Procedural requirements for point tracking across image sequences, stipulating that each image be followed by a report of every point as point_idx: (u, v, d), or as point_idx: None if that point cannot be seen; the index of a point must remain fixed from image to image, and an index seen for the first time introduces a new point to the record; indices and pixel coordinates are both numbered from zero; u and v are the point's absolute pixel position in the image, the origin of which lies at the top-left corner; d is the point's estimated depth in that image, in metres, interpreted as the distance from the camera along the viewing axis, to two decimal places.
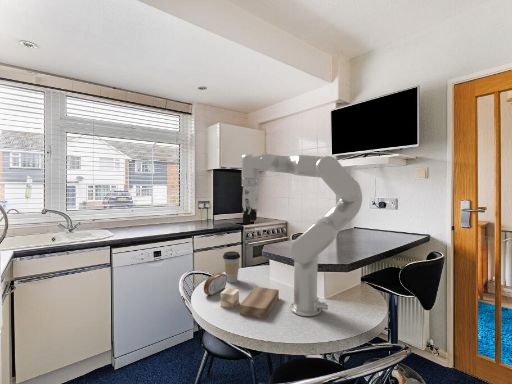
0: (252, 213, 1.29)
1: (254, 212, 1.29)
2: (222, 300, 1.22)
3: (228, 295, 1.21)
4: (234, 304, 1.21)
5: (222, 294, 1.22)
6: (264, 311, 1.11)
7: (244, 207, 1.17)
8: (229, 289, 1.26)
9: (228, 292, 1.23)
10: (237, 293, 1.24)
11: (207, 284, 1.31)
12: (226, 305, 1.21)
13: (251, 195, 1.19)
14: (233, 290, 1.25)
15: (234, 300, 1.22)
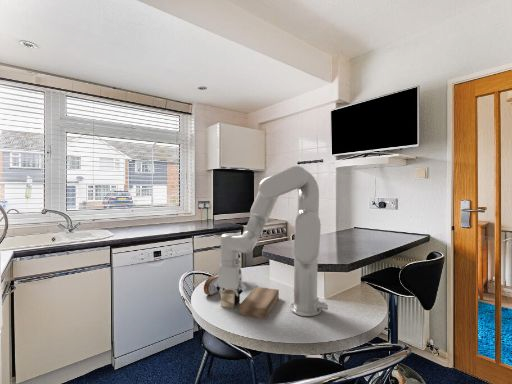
0: None
1: None
2: (222, 299, 1.22)
3: (228, 295, 1.21)
4: (234, 304, 1.21)
5: (222, 294, 1.22)
6: (264, 311, 1.11)
7: (244, 289, 1.22)
8: (229, 289, 1.26)
9: (228, 292, 1.23)
10: None
11: (207, 284, 1.31)
12: (226, 305, 1.21)
13: (241, 273, 1.24)
14: (233, 290, 1.25)
15: (234, 300, 1.22)
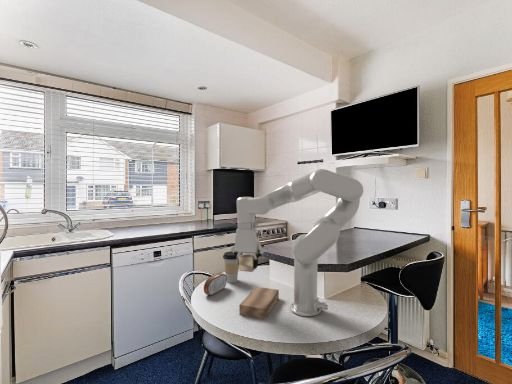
0: None
1: None
2: (240, 264, 1.20)
3: (246, 258, 1.19)
4: (253, 267, 1.20)
5: (240, 258, 1.20)
6: (264, 311, 1.11)
7: None
8: (247, 254, 1.24)
9: (246, 256, 1.21)
10: None
11: (207, 284, 1.31)
12: (245, 269, 1.20)
13: None
14: (251, 254, 1.23)
15: None
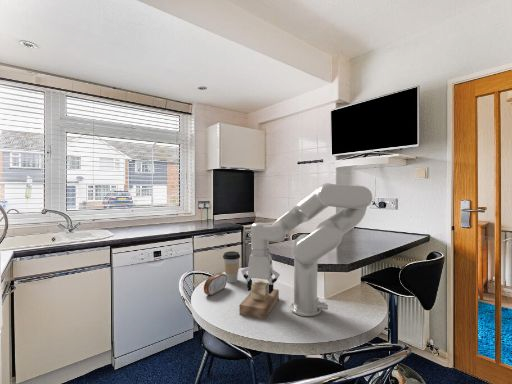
0: (250, 283, 1.23)
1: (251, 281, 1.24)
2: (253, 291, 1.20)
3: (259, 287, 1.19)
4: (265, 296, 1.20)
5: (253, 286, 1.20)
6: (264, 311, 1.11)
7: None
8: (259, 281, 1.24)
9: (259, 284, 1.21)
10: (267, 285, 1.23)
11: (207, 284, 1.31)
12: (257, 297, 1.20)
13: None
14: (263, 282, 1.23)
15: (265, 292, 1.20)
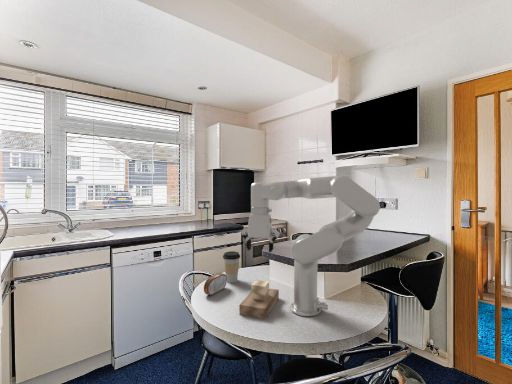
0: (249, 243, 1.24)
1: (250, 241, 1.25)
2: (253, 291, 1.20)
3: (259, 287, 1.19)
4: (265, 296, 1.20)
5: (253, 286, 1.20)
6: (264, 311, 1.11)
7: (278, 235, 1.20)
8: (259, 281, 1.24)
9: (259, 284, 1.21)
10: (267, 285, 1.23)
11: (207, 284, 1.31)
12: (257, 297, 1.20)
13: (271, 223, 1.23)
14: (263, 282, 1.23)
15: (265, 292, 1.20)
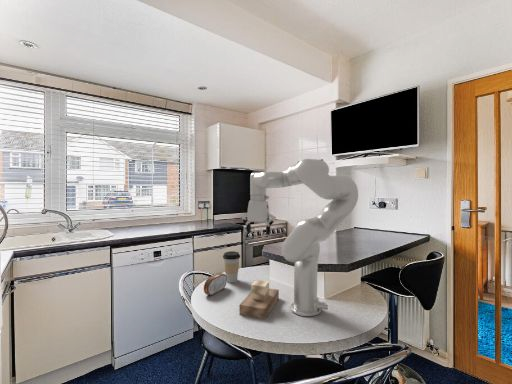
0: (249, 226, 1.38)
1: (250, 225, 1.39)
2: (253, 291, 1.20)
3: (259, 287, 1.19)
4: (265, 296, 1.20)
5: (253, 286, 1.20)
6: (264, 311, 1.11)
7: (274, 219, 1.34)
8: (259, 281, 1.24)
9: (259, 284, 1.21)
10: (267, 285, 1.23)
11: (207, 284, 1.31)
12: (257, 297, 1.20)
13: (268, 208, 1.37)
14: (263, 282, 1.23)
15: (265, 292, 1.20)
